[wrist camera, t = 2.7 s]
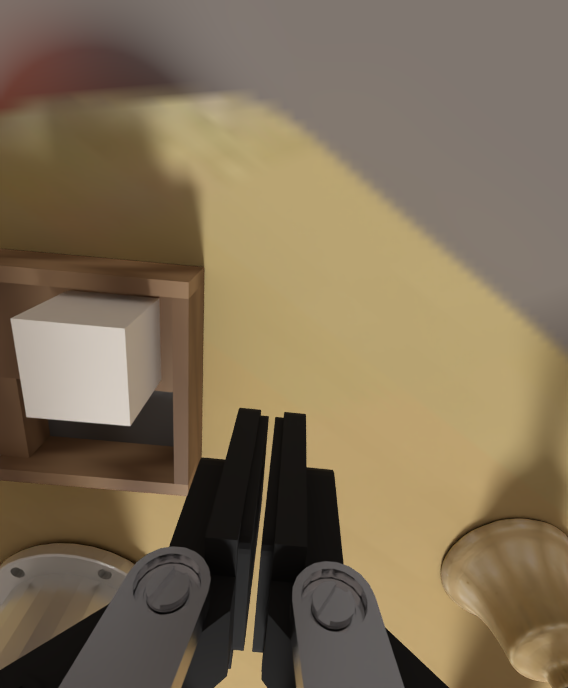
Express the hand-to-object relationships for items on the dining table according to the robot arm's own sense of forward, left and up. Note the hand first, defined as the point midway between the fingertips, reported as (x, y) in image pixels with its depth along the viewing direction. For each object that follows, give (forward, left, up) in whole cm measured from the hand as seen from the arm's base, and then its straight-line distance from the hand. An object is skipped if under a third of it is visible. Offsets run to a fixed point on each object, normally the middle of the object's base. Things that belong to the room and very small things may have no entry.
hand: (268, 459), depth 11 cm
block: (-4, +6, -9) cm, 12 cm away
